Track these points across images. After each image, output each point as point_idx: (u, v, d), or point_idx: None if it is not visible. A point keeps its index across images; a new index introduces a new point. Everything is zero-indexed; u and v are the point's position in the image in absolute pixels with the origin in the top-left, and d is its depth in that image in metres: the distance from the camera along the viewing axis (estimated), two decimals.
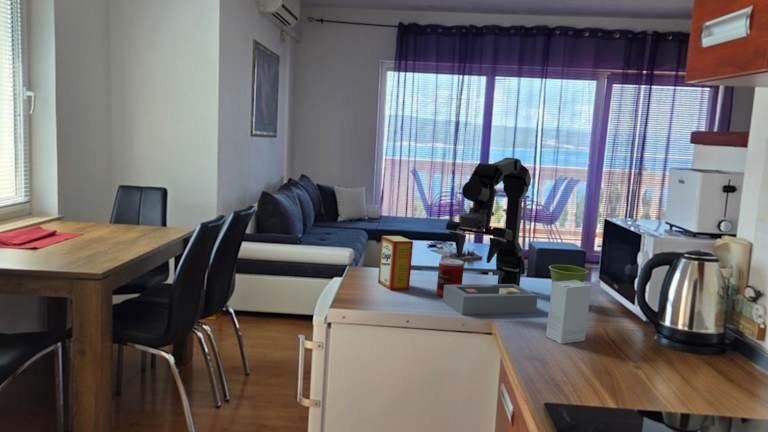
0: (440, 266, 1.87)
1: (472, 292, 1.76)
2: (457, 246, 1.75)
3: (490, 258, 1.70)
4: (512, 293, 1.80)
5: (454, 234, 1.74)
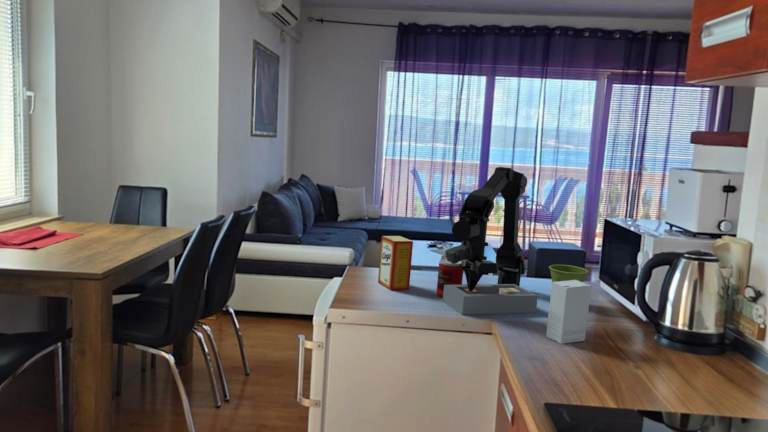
0: (440, 266, 1.87)
1: (472, 292, 1.76)
2: (467, 279, 1.77)
3: (472, 286, 1.76)
4: (512, 293, 1.80)
5: (462, 267, 1.77)
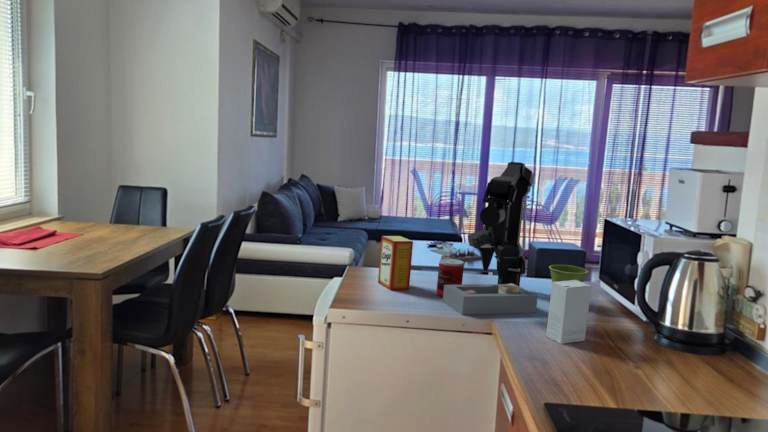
0: (440, 266, 1.87)
1: None
2: (482, 260, 1.83)
3: (501, 274, 1.74)
4: (511, 289, 1.79)
5: (477, 249, 1.83)
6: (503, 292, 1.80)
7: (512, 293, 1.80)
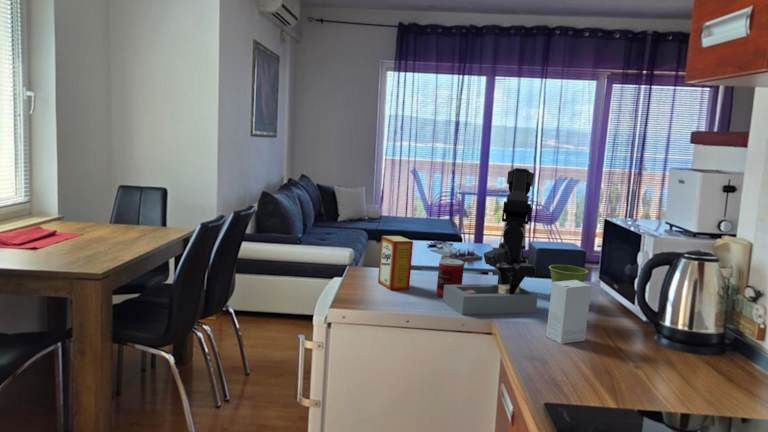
0: (440, 266, 1.87)
1: None
2: (500, 279, 1.83)
3: (512, 290, 1.79)
4: None
5: (496, 268, 1.83)
6: (503, 292, 1.80)
7: None
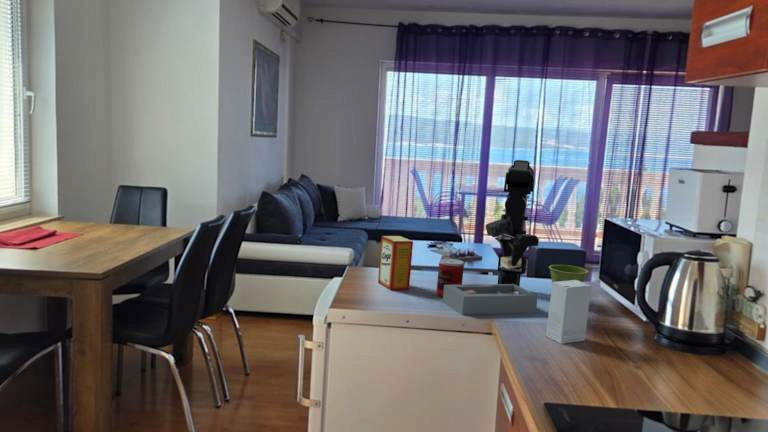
0: (440, 266, 1.87)
1: None
2: (503, 251, 1.82)
3: (515, 261, 1.78)
4: None
5: (498, 240, 1.82)
6: (505, 264, 1.79)
7: None
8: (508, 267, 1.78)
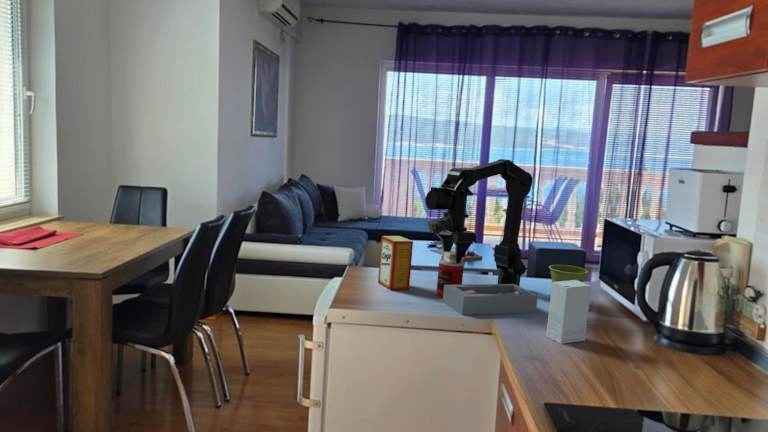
0: (440, 266, 1.87)
1: None
2: (443, 246, 1.92)
3: (458, 258, 1.84)
4: None
5: (438, 236, 1.92)
6: (447, 258, 1.87)
7: None
8: (450, 261, 1.86)
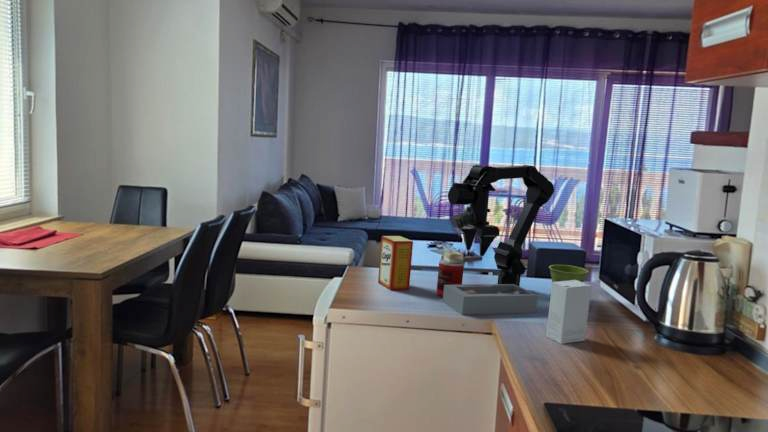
0: (440, 266, 1.87)
1: None
2: (465, 240, 1.99)
3: (482, 252, 1.90)
4: (456, 256, 1.86)
5: (460, 230, 1.99)
6: (447, 258, 1.87)
7: (456, 260, 1.87)
8: (450, 261, 1.86)
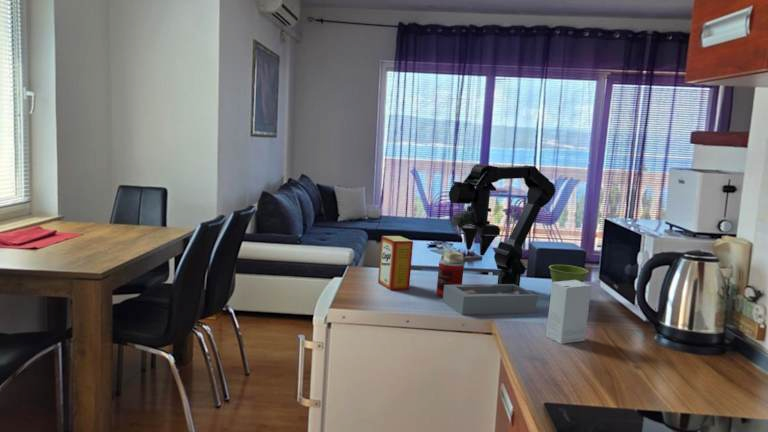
0: (440, 266, 1.87)
1: None
2: (465, 239, 1.99)
3: (483, 251, 1.90)
4: (455, 256, 1.86)
5: (461, 229, 1.99)
6: (447, 258, 1.87)
7: (456, 260, 1.87)
8: (450, 261, 1.86)
